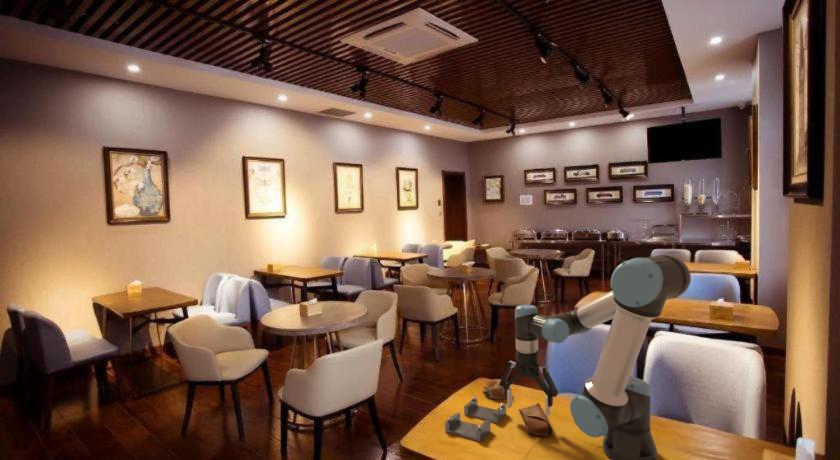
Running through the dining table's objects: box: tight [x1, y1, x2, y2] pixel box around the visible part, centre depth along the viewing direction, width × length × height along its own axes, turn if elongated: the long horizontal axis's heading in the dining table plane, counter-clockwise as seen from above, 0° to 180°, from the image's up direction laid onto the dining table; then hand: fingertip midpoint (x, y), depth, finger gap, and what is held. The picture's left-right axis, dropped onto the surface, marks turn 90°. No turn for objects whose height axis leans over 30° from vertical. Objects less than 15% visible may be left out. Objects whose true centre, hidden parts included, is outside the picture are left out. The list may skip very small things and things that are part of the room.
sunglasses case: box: [518, 402, 553, 438], centre depth 153 cm, size 18×7×7 cm
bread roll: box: [482, 378, 507, 401], centre depth 176 cm, size 10×10×8 cm
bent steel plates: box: [444, 396, 507, 443], centre depth 155 cm, size 13×22×4 cm, turn 147°
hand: (528, 410), depth 153 cm, fingers open, 13 cm apart
